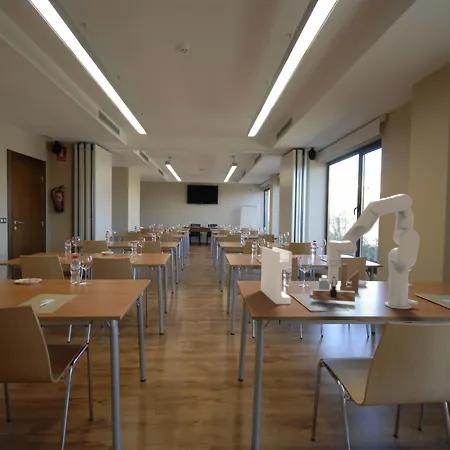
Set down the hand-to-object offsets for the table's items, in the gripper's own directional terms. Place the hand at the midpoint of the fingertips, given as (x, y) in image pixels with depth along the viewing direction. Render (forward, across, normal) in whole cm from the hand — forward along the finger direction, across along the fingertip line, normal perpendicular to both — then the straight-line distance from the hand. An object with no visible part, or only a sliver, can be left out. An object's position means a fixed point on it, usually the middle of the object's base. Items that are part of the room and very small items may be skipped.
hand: (333, 296), depth 188 cm
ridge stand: (+4, -16, -5) cm, 17 cm away
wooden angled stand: (+4, -35, +11) cm, 37 cm away
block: (+4, -5, -33) cm, 33 cm away
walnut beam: (+2, 0, 0) cm, 2 cm away
